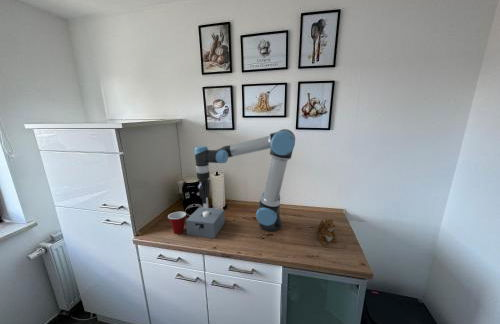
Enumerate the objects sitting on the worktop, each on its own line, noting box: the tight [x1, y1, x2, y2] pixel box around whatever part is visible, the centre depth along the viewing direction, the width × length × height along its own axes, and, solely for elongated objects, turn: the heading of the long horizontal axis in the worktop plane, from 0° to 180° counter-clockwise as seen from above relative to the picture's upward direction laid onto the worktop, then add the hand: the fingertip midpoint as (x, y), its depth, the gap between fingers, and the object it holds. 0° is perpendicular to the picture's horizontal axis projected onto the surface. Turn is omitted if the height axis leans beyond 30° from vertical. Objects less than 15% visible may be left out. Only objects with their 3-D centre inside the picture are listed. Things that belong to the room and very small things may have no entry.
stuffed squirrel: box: [316, 218, 338, 246], centre depth 118 cm, size 10×14×13 cm
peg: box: [203, 211, 210, 217], centre depth 130 cm, size 4×4×11 cm
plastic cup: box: [167, 211, 187, 235], centre depth 126 cm, size 11×11×12 cm
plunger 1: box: [195, 224, 203, 231], centre depth 121 cm, size 4×9×2 cm, turn 167°
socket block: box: [185, 206, 226, 239], centre depth 129 cm, size 18×18×10 cm
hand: (206, 207), depth 127 cm, fingers closed
